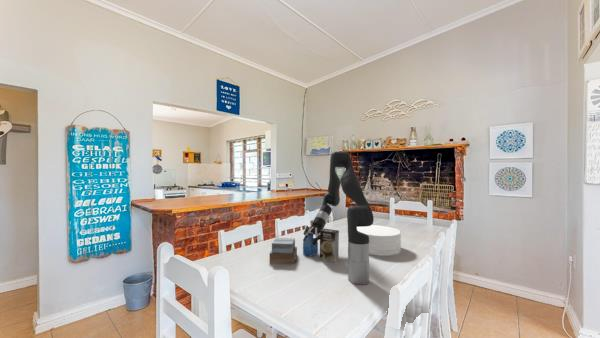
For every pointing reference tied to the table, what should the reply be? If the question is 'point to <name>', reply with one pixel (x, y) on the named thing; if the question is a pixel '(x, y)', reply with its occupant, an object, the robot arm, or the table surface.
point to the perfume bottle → (310, 245)
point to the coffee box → (329, 245)
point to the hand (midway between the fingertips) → (308, 243)
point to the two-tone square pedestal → (283, 251)
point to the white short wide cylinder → (382, 239)
